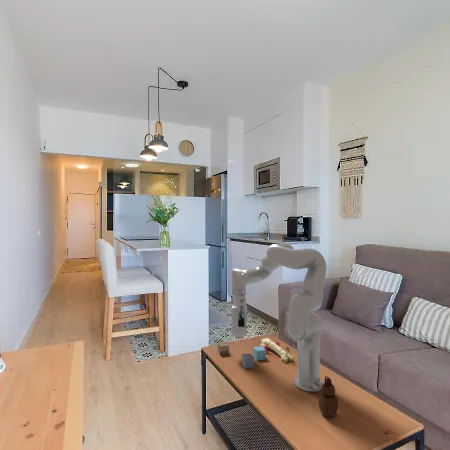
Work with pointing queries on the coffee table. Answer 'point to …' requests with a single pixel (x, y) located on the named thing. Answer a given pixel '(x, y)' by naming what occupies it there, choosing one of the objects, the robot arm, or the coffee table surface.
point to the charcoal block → (247, 360)
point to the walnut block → (223, 348)
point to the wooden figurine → (328, 399)
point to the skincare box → (235, 329)
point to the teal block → (259, 353)
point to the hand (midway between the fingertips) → (239, 324)
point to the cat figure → (276, 349)
